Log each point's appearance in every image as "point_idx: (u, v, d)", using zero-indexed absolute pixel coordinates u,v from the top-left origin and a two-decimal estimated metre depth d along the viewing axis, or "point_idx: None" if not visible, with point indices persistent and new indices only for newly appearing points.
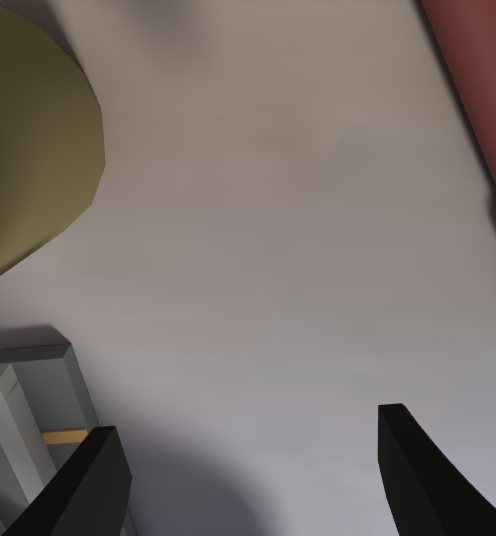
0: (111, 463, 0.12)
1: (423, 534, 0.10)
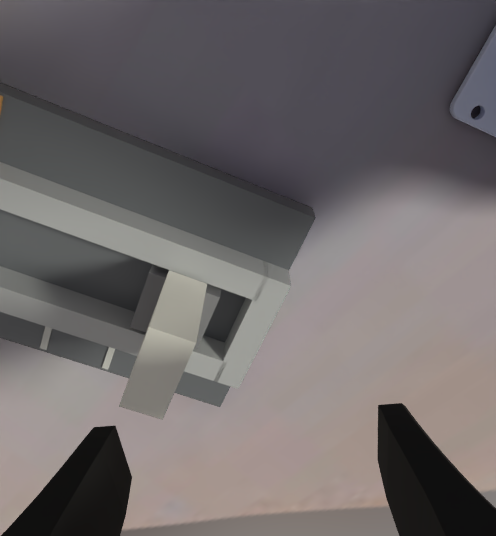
0: (111, 463, 0.12)
1: (423, 534, 0.10)
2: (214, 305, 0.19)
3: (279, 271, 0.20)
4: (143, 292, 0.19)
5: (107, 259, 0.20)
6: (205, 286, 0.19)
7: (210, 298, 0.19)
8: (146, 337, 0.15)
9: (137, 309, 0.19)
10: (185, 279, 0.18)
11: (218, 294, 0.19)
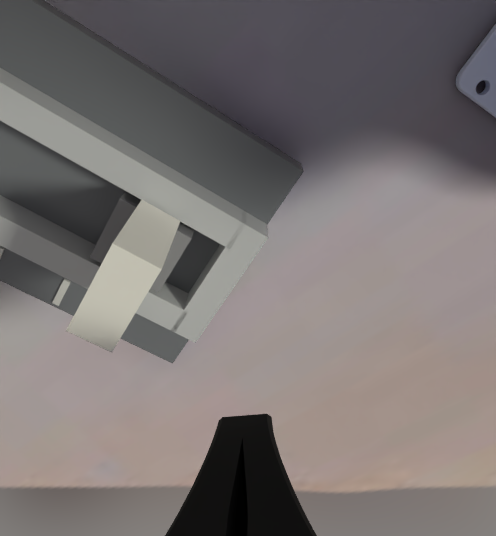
0: None
1: None
2: (184, 246, 0.18)
3: (257, 222, 0.19)
4: (110, 220, 0.18)
5: (75, 182, 0.19)
6: (178, 222, 0.17)
7: (181, 237, 0.18)
8: (108, 255, 0.14)
9: (100, 238, 0.18)
10: (158, 211, 0.17)
11: (190, 235, 0.18)
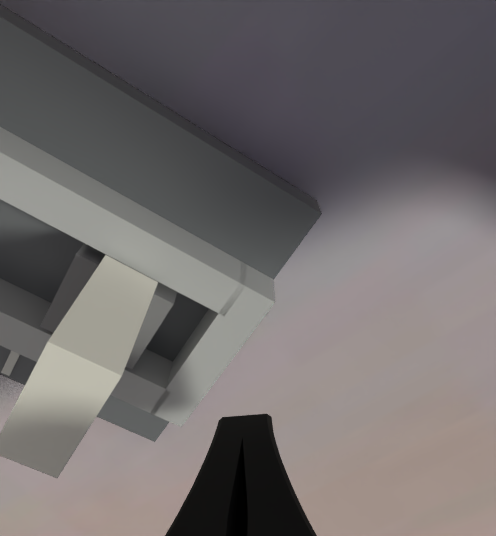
0: None
1: None
2: (164, 313, 0.14)
3: (261, 279, 0.14)
4: (64, 281, 0.13)
5: (23, 226, 0.14)
6: (154, 285, 0.13)
7: (160, 303, 0.13)
8: (42, 357, 0.09)
9: (53, 303, 0.14)
10: (127, 271, 0.13)
11: (172, 299, 0.14)
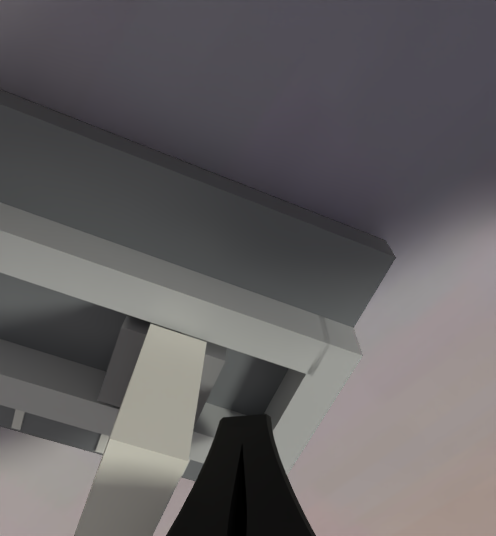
0: None
1: None
2: (217, 371, 0.13)
3: (342, 331, 0.14)
4: (114, 354, 0.13)
5: (100, 314, 0.14)
6: (204, 347, 0.13)
7: (211, 362, 0.13)
8: (106, 453, 0.09)
9: (106, 377, 0.14)
10: (174, 337, 0.13)
11: (223, 355, 0.13)
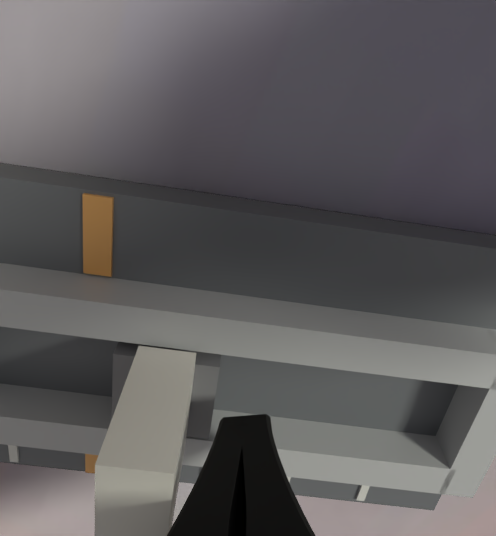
0: None
1: None
2: (215, 379, 0.13)
3: None
4: (114, 381, 0.14)
5: (272, 366, 0.15)
6: (193, 358, 0.13)
7: (207, 371, 0.13)
8: (97, 479, 0.10)
9: (114, 403, 0.14)
10: (163, 354, 0.13)
11: (217, 362, 0.13)
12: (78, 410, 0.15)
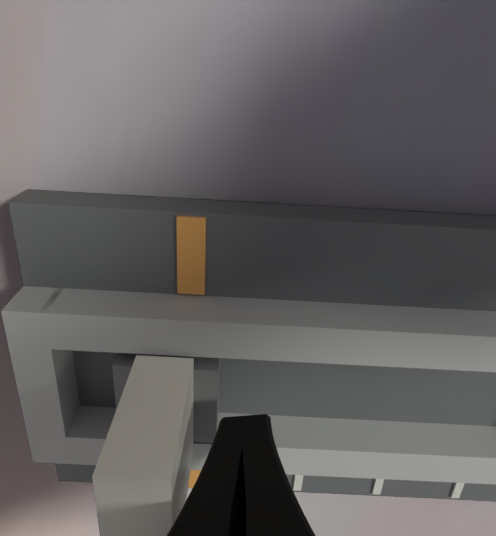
0: None
1: None
2: (215, 382, 0.14)
3: None
4: (116, 392, 0.14)
5: (364, 371, 0.15)
6: (190, 363, 0.13)
7: (206, 375, 0.13)
8: (96, 490, 0.10)
9: None
10: (160, 362, 0.13)
11: (215, 366, 0.13)
12: None
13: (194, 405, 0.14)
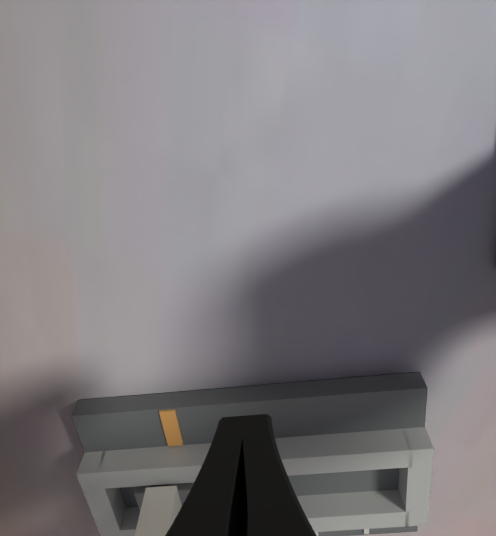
0: None
1: None
2: None
3: (418, 434, 0.24)
4: (139, 506, 0.25)
5: None
6: (174, 489, 0.24)
7: (185, 492, 0.24)
8: None
9: None
10: (158, 491, 0.24)
11: (190, 486, 0.24)
12: None
13: None
